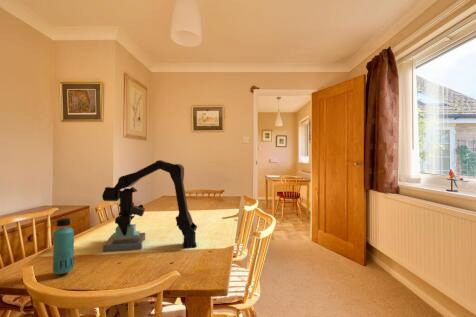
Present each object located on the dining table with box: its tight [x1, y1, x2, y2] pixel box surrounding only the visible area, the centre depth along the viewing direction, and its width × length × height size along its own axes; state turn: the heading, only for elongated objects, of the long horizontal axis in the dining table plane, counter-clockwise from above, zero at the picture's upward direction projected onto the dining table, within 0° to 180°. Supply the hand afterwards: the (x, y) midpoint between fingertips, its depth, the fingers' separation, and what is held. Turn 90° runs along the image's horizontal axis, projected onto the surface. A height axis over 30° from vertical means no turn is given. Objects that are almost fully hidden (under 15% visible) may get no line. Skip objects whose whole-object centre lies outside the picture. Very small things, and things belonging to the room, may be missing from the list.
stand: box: [102, 232, 146, 253], centre depth 122 cm, size 16×16×3 cm
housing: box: [110, 223, 141, 238], centre depth 122 cm, size 12×6×5 cm, turn 104°
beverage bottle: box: [52, 217, 75, 275], centre depth 91 cm, size 6×7×20 cm
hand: (126, 233), depth 122 cm, fingers closed on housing, 6 cm apart
